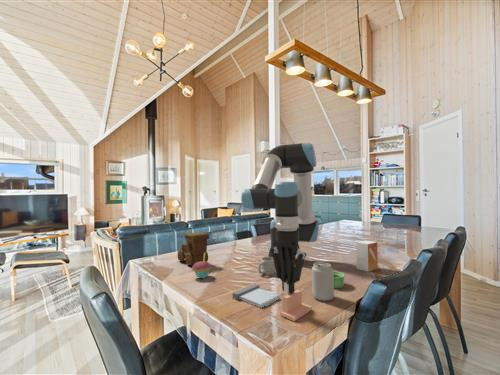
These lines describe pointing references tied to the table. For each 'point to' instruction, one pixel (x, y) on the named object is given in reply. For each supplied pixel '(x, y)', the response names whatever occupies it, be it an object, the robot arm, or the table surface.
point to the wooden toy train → (194, 248)
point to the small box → (366, 255)
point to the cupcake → (201, 268)
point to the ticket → (256, 295)
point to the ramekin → (338, 279)
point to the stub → (294, 306)
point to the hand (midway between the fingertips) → (288, 301)
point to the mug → (266, 266)
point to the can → (322, 281)
